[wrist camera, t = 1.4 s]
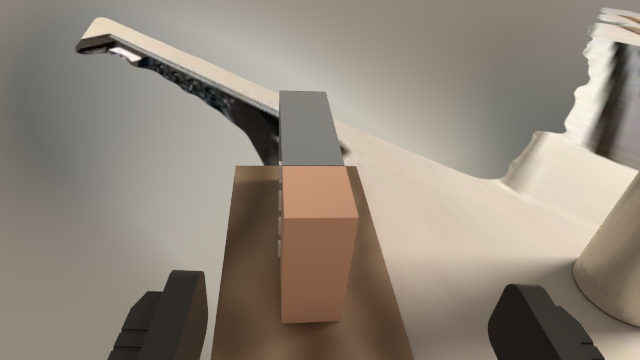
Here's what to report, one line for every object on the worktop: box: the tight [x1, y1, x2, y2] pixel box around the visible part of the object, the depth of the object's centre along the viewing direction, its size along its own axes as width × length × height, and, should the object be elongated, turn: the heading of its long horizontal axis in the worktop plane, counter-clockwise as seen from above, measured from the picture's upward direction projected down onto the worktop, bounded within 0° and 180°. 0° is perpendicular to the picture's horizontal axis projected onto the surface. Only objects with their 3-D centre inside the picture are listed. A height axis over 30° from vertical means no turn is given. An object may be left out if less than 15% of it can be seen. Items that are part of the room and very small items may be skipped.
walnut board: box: [211, 166, 414, 360], centre depth 39 cm, size 16×32×2 cm, turn 6°
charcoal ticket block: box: [278, 91, 345, 265], centre depth 40 cm, size 5×14×12 cm, turn 6°
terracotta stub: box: [280, 166, 359, 324], centre depth 32 cm, size 5×6×12 cm
